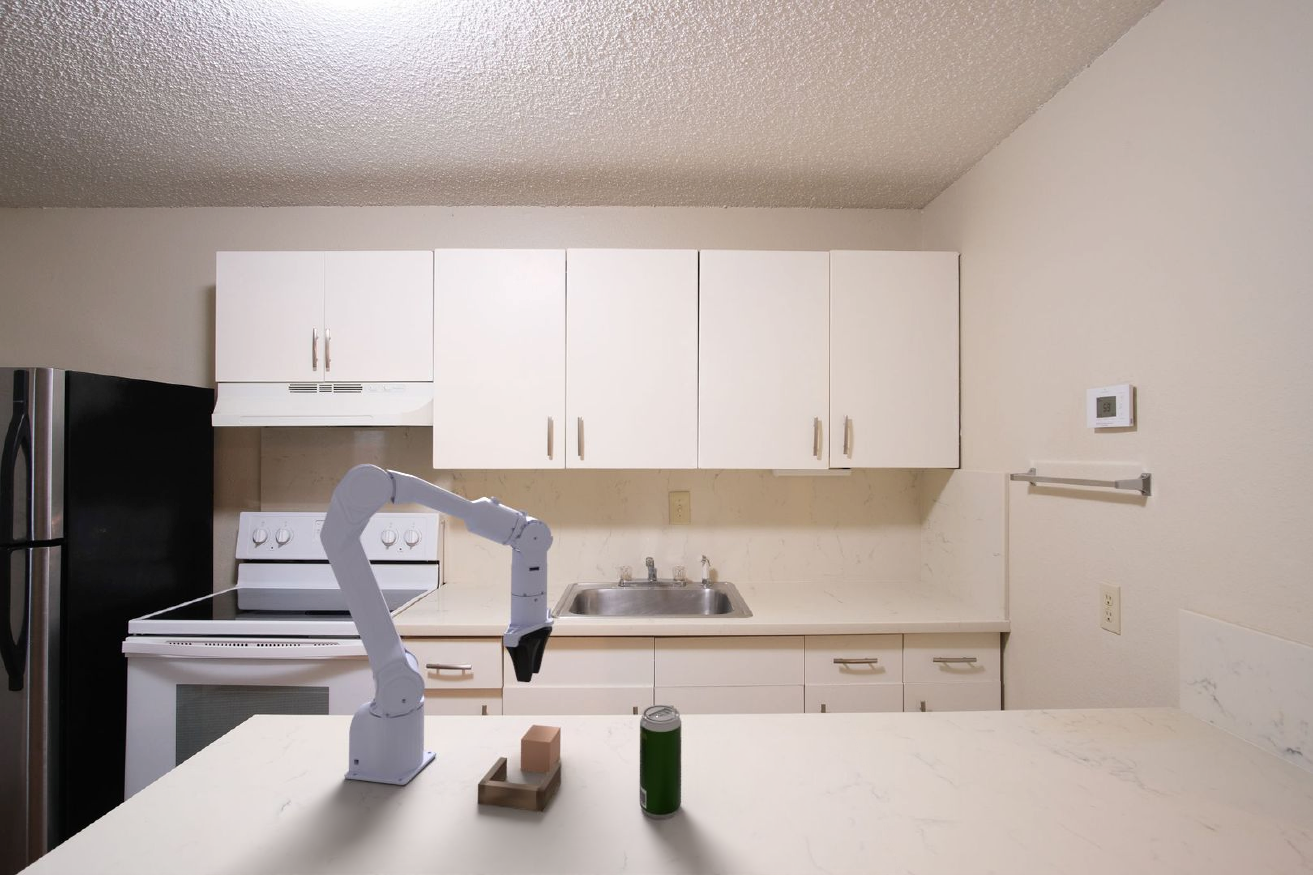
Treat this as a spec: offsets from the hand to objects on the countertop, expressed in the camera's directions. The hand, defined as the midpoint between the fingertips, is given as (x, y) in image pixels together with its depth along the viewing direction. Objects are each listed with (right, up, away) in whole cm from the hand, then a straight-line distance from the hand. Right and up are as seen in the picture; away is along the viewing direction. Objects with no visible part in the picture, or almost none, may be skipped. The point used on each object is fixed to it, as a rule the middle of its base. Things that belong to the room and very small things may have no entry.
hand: (528, 676), depth 91 cm
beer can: (+21, -9, -18) cm, 29 cm away
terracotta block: (+4, -9, -8) cm, 13 cm away
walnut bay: (+2, -9, -15) cm, 18 cm away
